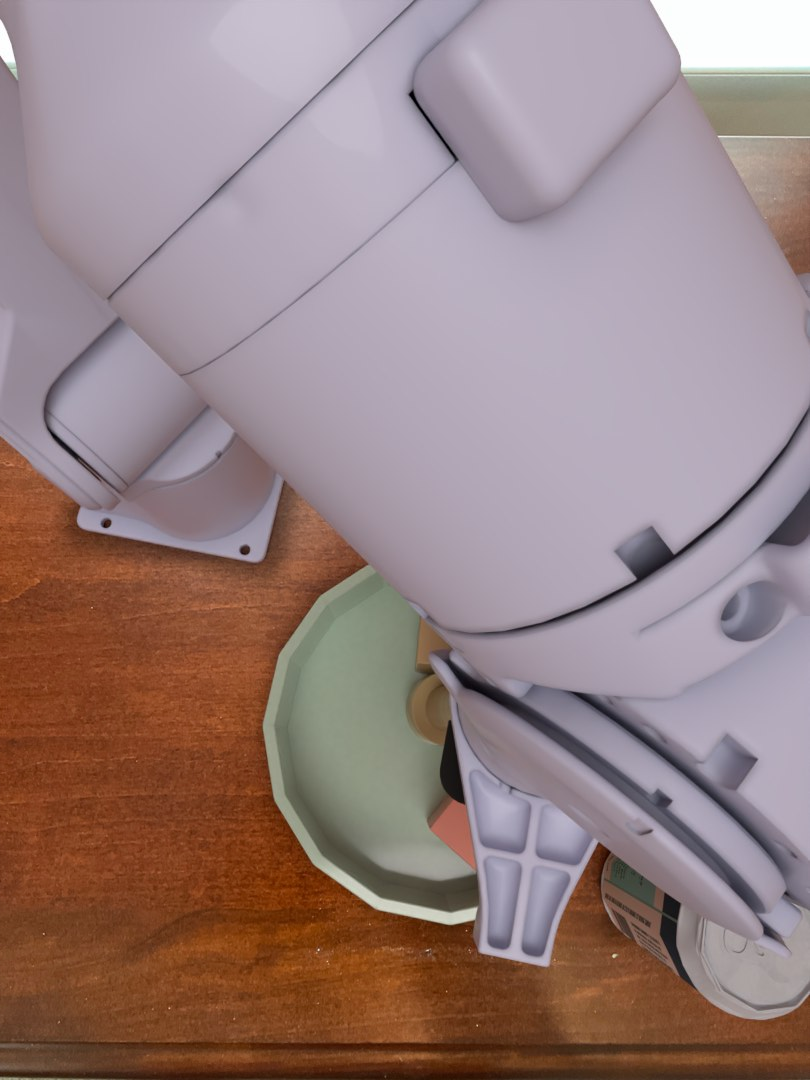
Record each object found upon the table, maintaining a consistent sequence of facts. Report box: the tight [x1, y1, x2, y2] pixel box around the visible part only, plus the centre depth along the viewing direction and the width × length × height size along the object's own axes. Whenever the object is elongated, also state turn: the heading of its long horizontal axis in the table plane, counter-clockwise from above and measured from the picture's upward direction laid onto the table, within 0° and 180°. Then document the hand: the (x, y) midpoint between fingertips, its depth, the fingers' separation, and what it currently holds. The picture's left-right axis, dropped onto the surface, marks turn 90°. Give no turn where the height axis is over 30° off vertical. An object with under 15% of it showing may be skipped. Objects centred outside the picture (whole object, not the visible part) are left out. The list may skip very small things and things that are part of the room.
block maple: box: [415, 616, 453, 674], centre depth 38 cm, size 4×4×4 cm
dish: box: [261, 563, 480, 926], centre depth 37 cm, size 15×15×5 cm
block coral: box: [427, 795, 476, 870], centre depth 36 cm, size 4×4×4 cm
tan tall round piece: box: [406, 673, 451, 746], centre depth 34 cm, size 3×3×8 cm
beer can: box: [600, 851, 810, 1021], centre depth 32 cm, size 5×5×12 cm
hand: (512, 712), depth 34 cm, fingers closed on tan tall round piece, 2 cm apart
